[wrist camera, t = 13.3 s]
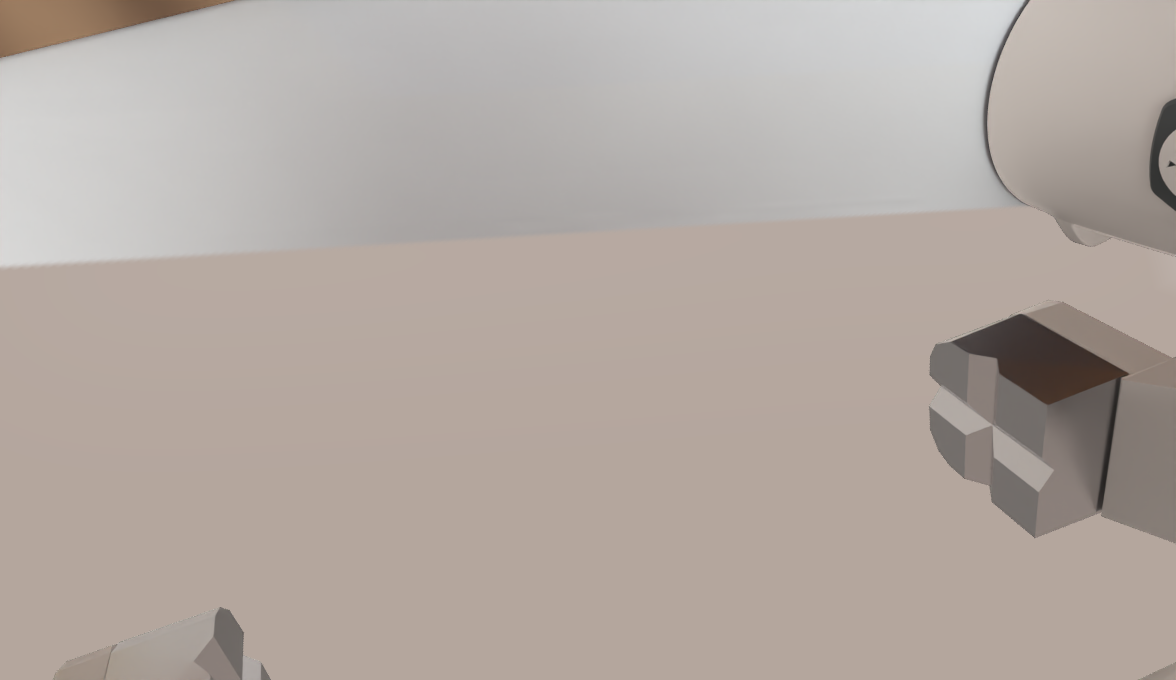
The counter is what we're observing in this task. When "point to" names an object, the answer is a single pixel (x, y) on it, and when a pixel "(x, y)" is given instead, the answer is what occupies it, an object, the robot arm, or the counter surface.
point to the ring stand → (78, 19)
